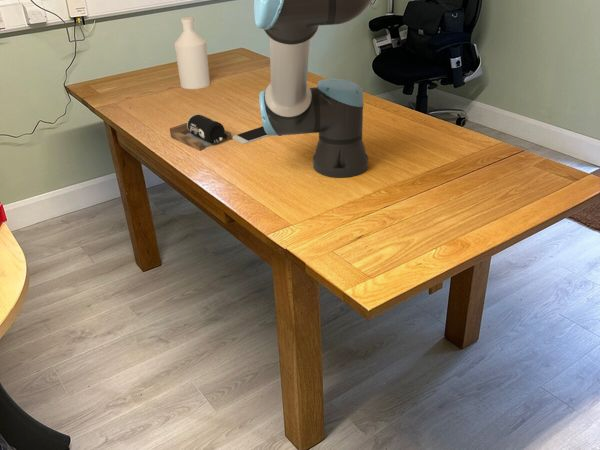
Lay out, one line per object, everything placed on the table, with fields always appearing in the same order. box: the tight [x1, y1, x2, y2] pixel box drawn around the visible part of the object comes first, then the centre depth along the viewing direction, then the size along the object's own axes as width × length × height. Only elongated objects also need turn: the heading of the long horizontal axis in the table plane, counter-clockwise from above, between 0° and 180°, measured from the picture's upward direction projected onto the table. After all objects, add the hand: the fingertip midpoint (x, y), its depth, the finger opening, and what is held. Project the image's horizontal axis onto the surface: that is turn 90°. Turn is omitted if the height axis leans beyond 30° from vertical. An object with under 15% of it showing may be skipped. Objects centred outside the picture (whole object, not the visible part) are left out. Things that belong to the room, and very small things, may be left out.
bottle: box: [173, 16, 211, 90], centre depth 223 cm, size 12×12×25 cm
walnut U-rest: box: [169, 122, 233, 151], centre depth 181 cm, size 16×12×3 cm
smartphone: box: [231, 125, 271, 145], centre depth 183 cm, size 7×16×1 cm, turn 130°
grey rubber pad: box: [186, 133, 226, 149], centre depth 181 cm, size 12×8×1 cm
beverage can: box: [186, 114, 226, 145], centre depth 179 cm, size 7×7×12 cm
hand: (281, 42), depth 162 cm, fingers closed
